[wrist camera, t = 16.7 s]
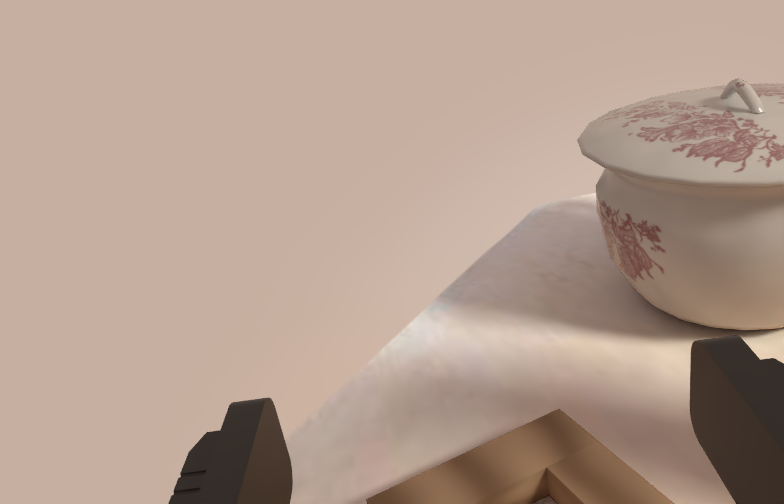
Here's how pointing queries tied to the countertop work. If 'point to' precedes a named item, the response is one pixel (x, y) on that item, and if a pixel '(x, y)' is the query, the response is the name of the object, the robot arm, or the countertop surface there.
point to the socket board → (530, 471)
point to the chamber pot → (697, 201)
